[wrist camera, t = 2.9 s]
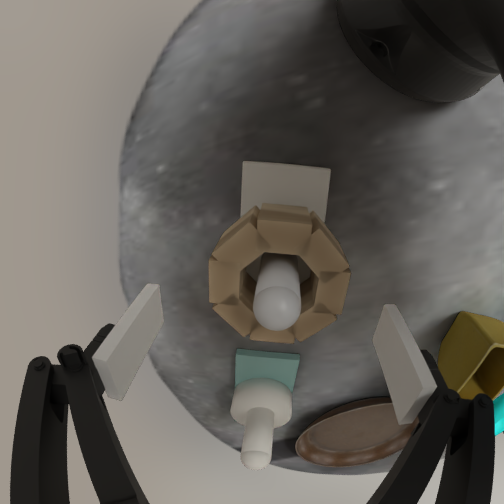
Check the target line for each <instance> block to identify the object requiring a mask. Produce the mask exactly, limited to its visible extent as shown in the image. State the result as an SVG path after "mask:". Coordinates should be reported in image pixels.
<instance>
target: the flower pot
mask: <svg viewBox="0 0 504 504" xmlns="http://www.w3.org/2000/svg"><path fill="white" fill-rule="evenodd" d="M438 368H439V369H438V370H440V372H441V374H442V376H443V378H444V380H445V382H446V385H447V387H448V389H453V390H455V391H456V392H458V394H459V395H460V397H461V398H462V399H470V400H473V398H474V397H475V396H476V395H477V394H479V393H484V394H486V395H488V396H489V397H490V398H491V399H492V401H493V400H494V399H495V398H496V397H497V395H498V394H499V393H500V392H501V391H502V389H503V388H504V323H503V322H502V321H499V320H497V319H494V318H491V317H487V316H483V315H478V314H473V313H469V312H465V311H461V312H460V313H459V314H458V316H457V317H456V319H455V321H454V323H453V324H452V326H451V328H450V329H449V331H448V333H447V334H446V336H445V337H444V339H443V340H442V342H441V346H440V350H439V355H438Z"/></svg>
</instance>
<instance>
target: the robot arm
mask: <svg viewBox="0 0 504 504" xmlns="http://www.w3.org/2000/svg"><path fill="white" fill-rule="evenodd" d="M337 13H338V18H339V22H340V25H341V28H342V31H343V33H344V35H345V37H346V39H347V41H348V43H349V44H350V46H351V48H352V49H353V50H354V52H355V53H356V55H357V56H358V57H359V58H360V60H361V61H362V62H363V63H364V64H365V65H366V66H367V67H368V68H369V69H370V70H371V71H372V72H373V73H374V74H375V75H376V76H377V77H379V78H380V79H381V80H382V81H384V82H385V83H386V84H388V85H389V86H391V87H392V88H394V89H396V90H398V91H399V92H401V93H403V94H405V95H407V96H410V97H413V98H415V99H418V100H422V101H427V102H436V103H441V102H453V101H460V100H464V99H466V98H469V97H471V96H473V95H475V94H476V93H478V92H479V91H480V90H481V89H482V88H483V87H484V86H485V85H486V84H487V83H488V82H490V81H491V80H492V79H493V78H495V77H496V76H497V75H499V74H501V77H502V79H503V82H504V0H337ZM163 323H164V318H163V311H162V303H161V295H160V286H159V285H158V284H150V283H147V285H146V286H145V287H144V288H143V290H142V291H141V292H140V293H139V295H138V296H137V297H136V299H135V300H134V301H133V302H132V304H131V305H130V306H129V308H128V309H127V310H126V312H125V313H124V314H123V316H122V317H121V318H120V320H119V321H118V322H117V324H116V325H113V324H107V325H106V326H105V327H103V328H101V330H100V331H99V332H98V333H97V336H95V337H94V339H93V341H91V342H90V344H89V345H88V346H87V348H86V349H85V350H84V352H83V350H82V348H81V347H80V346H78V345H75V344H71V345H67V346H64V347H63V348H61V349H60V350H59V352H58V354H57V358H58V360H59V362H60V364H61V365H52V364H51V362H50V360H49V359H48V358H47V357H44V356H40V357H36V358H34V359H33V360H32V361H31V362H30V363H29V365H28V369H27V373H26V376H25V380H24V385H23V389H22V394H21V398H20V403H19V409H18V414H17V421H16V427H15V434H14V442H13V451H12V462H11V483H10V504H70V501H69V490H68V475H67V418H68V404H69V405H70V410H71V414H72V418H73V422H74V426H75V430H76V434H77V437H78V441H79V445H80V448H81V451H82V454H83V458H84V461H85V464H86V466H87V470H88V472H89V475H90V478H91V481H92V483H93V486H94V489H95V491H96V493H97V496H98V498H99V501H100V504H149V502H148V500H147V499H146V497H145V495H144V493H143V491H142V489H141V487H140V485H139V483H138V481H137V479H136V477H135V475H134V473H133V471H132V469H131V467H130V465H129V463H128V461H127V458H126V456H125V454H124V452H123V449H122V447H121V445H120V442H119V440H118V437H117V435H116V432H115V430H114V427H113V424H112V422H111V419H110V416H109V414H108V411H107V408H106V405H105V402H104V399H103V397H102V394H103V393H104V391H106V393H107V395H108V397H110V398H113V399H117V400H119V401H122V400H123V398H124V396H125V394H126V392H127V390H128V388H129V386H130V384H131V382H132V381H133V379H134V377H135V375H136V373H137V371H138V369H139V367H140V365H141V364H142V362H143V360H144V358H145V356H146V354H147V352H148V351H149V349H150V347H151V345H152V343H153V341H154V340H155V338H156V336H157V334H158V332H159V331H160V329H161V327H162V325H163ZM372 342H373V345H374V347H375V350H376V353H377V356H378V359H379V362H380V365H381V368H382V371H383V374H384V377H385V380H386V383H387V386H388V390H389V393H390V396H391V399H392V403H393V406H394V410H395V413H396V416H397V420H398V424H399V425H401V424H409V423H412V422H413V421H414V420H415V418H416V417H417V416H418V419H419V423H418V424H417V426H416V427H415V428H414V429H413V431H412V432H411V433H410V434H411V437H410V438H409V440H408V442H407V444H406V445H405V447H404V449H403V451H402V452H401V454H400V456H399V457H398V459H397V460H396V462H395V464H394V465H393V467H392V468H391V470H390V471H389V473H388V474H387V476H386V477H385V479H384V480H383V482H382V483H381V485H380V486H379V488H378V489H377V490H376V492H375V493H374V494H373V496H372V497H371V498H370V500H369V501H368V502H367V504H417V503H418V501H419V499H420V497H421V496H422V494H423V492H424V490H425V488H426V487H427V485H428V483H429V481H430V479H431V477H432V475H433V473H434V471H435V469H436V467H437V464H438V462H439V460H440V458H441V456H442V453H443V451H444V449H445V446H446V444H447V448H446V454H445V461H444V466H443V471H442V477H441V481H440V486H439V490H438V494H437V498H436V502H435V504H490V501H491V493H492V485H493V474H494V457H495V456H494V455H495V419H494V404H493V401H492V399H491V398H490V397H489V396H488V395H486V394H484V393H479V394H477V395H476V396H475V397H474V398H473V400H470V399H462V398H461V397H460V395H459V394H458V392H456V391H455V390H453V389H448V387H447V385H446V382H445V380H444V378H443V376H442V374H441V372H440V370H438V369H439V368H438V366H437V364H436V362H435V360H434V358H433V356H432V355H431V354H430V353H429V352H428V351H427V350H420V349H419V347H418V345H417V343H416V341H415V340H414V338H413V336H412V334H411V332H410V330H409V328H408V326H407V324H406V322H405V321H404V319H403V317H402V315H401V313H400V311H399V310H398V308H397V306H396V304H384V306H383V309H382V313H381V316H380V319H379V322H378V325H377V327H376V330H375V333H374V336H373V339H372Z"/></svg>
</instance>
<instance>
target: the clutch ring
mask: <svg viewBox="0 0 504 504" xmlns="http://www.w3.org/2000/svg"><path fill="white" fill-rule="evenodd" d="M264 252H269V253H280V254H291V255H299V256H300V257H301V258H302V259H303V260H304V262H305V263H306V264H307V265H308V266H309V267H310V269H311V274H310V277H309V278H308V279H307V280H305V281H304V282H302V283H301V284H300V296H301V312H300V315H299V318H298V319H297V321H296V322H295V323H294V324H293V325H292V326H291V327H289V328H287V329H285V330H280V331H274V330H269V329H267V328H265V327H263V326H262V325H261V324H260V323H259V322H258V321H257V319H256V317H255V315H254V311H253V302H254V297H255V291H256V286H257V282H256V281H255V280H254V279H253V278H252V277H251V276H250V275H249V274H248V273H247V272H246V266H247V265H249V264H250V263H251V262H253V261H254V260H255V259H256V258H258V257H259V256H260V255H262V254H263V253H264ZM349 267H350V266H349V264H348V261H347V259H346V257H345V255H344V252H343V250H342V248H341V246H340V243H339V242H338V240H337V239H336V238H335V237H334V235H333V234H332V233H331V232H330V230H329V229H328V228H327V227H326V225H325V224H324V223H323V222H322V220H321V219H320V218H319V217H318V215H317V214H316V213H315V212H314V211H312V212H310V213H309V211H308V208H307V207H302V206H292V205H281V204H269V203H262V206H261V209H259V208H258V207H257V206H256V205H255V206H254V207H253V208H252V209H250V210H249V211H248V212H247V213H246V214H244V215H243V216H242V217H241V218H240V219H239V220H237V221H236V222H235V223H234V224H233V225H232V226H230V227H229V228H228V229H227V230H226V231H225V232H224V233H223V234H222V236H221V238H220V240H219V241H218V243H217V245H216V247H215V249H214V250H213V252H212V255H211V257H210V259H209V303H214V305H213V308H212V309H213V310H214V311H216V312H217V313H218V314H219V315H220V316H221V317H222V318H223V319H224V320H225V321H226V322H227V323H229V324H230V325H231V326H232V327H233V328H234V329H235V330H236V331H237V332H238V333H240V334H241V335H242V336H243V337H245V336H246V335H248V334H250V340H257V341H267V342H278V343H290V344H294V340H295V338H296V339H297V340H298V341H299V342H302V341H303V340H305V339H307V338H308V337H310V336H312V335H313V334H315V333H317V332H318V331H320V330H322V329H323V328H325V327H326V326H328V325H330V324H331V323H333V322H334V321H336V320H337V317H336V314H340V315H341V313H342V309H343V305H344V301H345V297H346V293H347V289H348V285H349V280H350V276H351V272H350V269H349Z"/></svg>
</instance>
